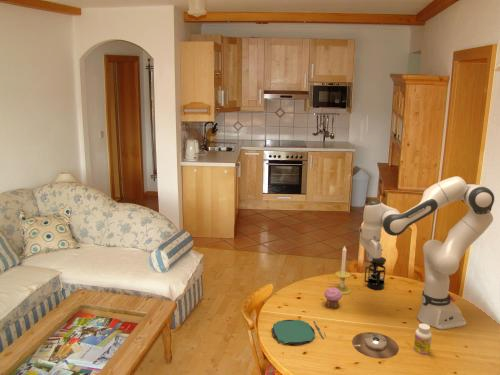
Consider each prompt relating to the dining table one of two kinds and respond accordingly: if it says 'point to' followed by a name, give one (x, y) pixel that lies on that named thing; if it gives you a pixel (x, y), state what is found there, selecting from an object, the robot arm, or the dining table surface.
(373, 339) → the cover
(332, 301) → the cupcake
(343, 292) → the candle
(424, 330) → the supplement bottle
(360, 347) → the platter
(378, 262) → the french press
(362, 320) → the dining table surface
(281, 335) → the cutlery set
